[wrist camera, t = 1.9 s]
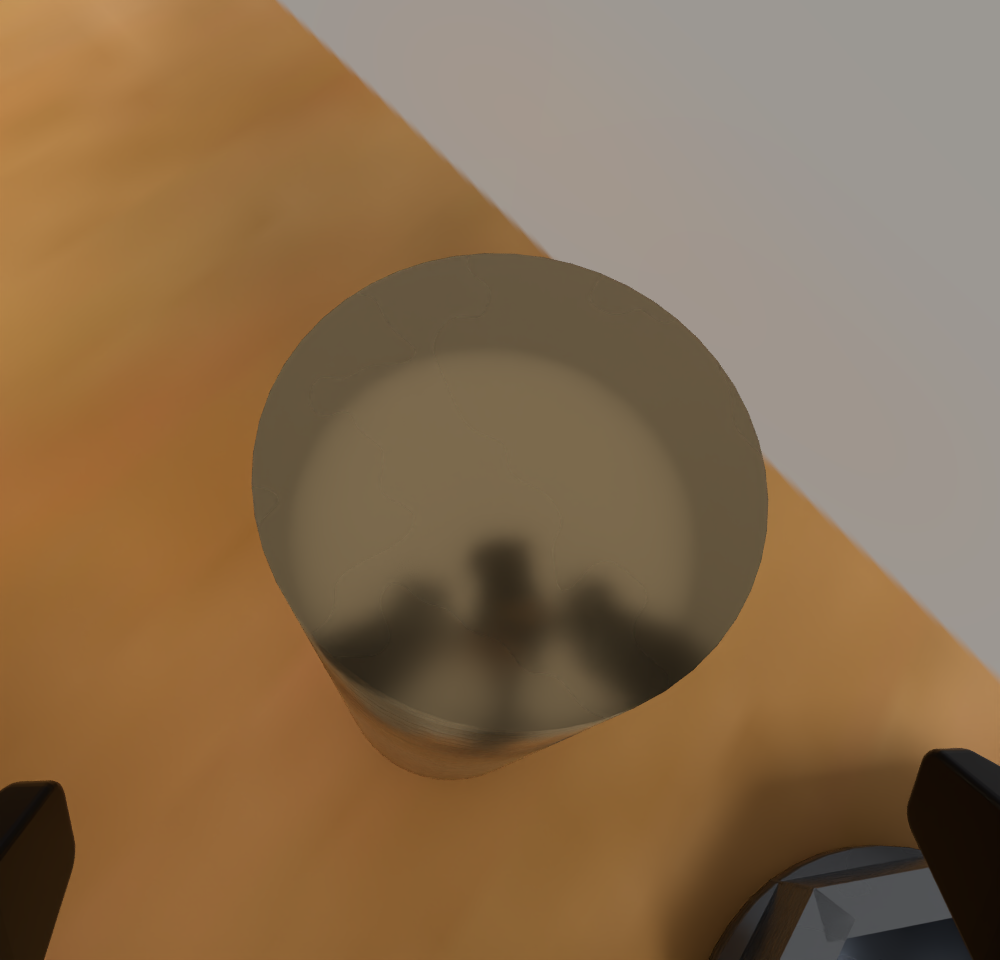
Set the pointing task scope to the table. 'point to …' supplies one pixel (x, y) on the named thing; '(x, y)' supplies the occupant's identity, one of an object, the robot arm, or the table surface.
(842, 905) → the ring collar
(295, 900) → the table surface
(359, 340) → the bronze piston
